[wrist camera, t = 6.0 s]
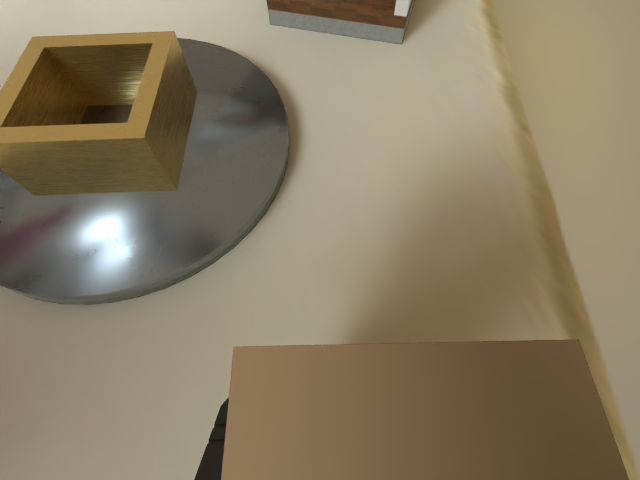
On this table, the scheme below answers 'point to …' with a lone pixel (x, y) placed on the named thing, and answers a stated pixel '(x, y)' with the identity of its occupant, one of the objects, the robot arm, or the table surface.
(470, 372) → the tall tan wooden block
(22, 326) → the table surface
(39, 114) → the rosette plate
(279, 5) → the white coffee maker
